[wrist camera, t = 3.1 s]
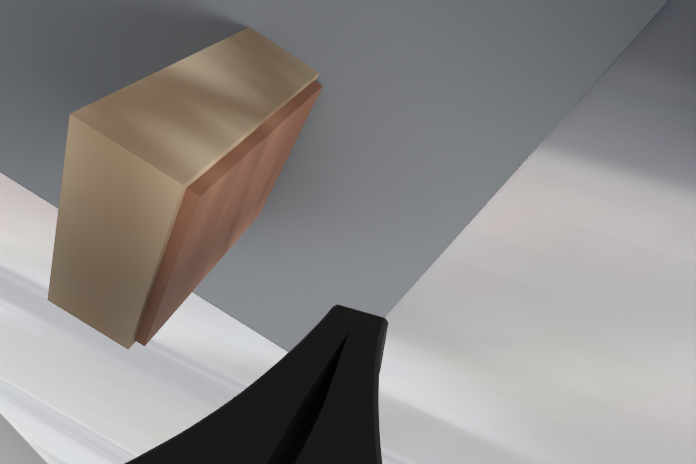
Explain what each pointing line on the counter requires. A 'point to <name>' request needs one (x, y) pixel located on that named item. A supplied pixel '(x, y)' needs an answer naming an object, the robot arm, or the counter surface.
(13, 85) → the mat
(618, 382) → the counter surface
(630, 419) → the counter surface
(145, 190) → the brown wooden block
